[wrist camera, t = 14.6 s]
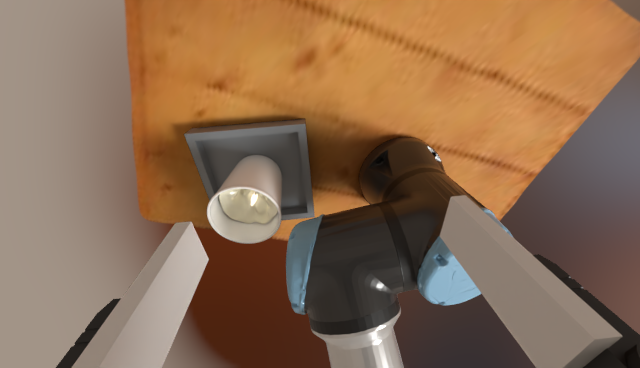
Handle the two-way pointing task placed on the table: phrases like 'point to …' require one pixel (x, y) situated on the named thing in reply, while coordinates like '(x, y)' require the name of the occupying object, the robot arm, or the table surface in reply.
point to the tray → (257, 139)
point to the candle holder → (248, 201)
